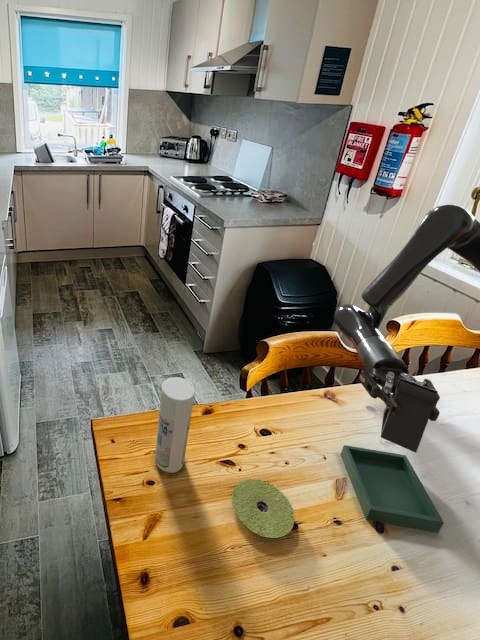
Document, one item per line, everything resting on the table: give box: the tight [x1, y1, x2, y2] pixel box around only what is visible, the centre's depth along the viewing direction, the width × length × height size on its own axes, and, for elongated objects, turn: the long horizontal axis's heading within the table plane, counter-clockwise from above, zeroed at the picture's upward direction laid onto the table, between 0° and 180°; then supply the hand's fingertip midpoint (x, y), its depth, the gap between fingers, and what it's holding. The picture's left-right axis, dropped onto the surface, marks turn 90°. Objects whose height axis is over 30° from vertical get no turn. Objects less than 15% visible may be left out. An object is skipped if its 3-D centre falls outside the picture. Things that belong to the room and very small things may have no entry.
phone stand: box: [380, 378, 439, 454], centre depth 79 cm, size 9×6×12 cm, turn 144°
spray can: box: [154, 376, 196, 474], centre depth 81 cm, size 6×6×20 cm
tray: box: [340, 444, 445, 534], centre depth 80 cm, size 13×15×3 cm
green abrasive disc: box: [231, 478, 295, 539], centre depth 75 cm, size 11×11×2 cm
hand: (416, 414), depth 76 cm, fingers closed on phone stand, 6 cm apart
